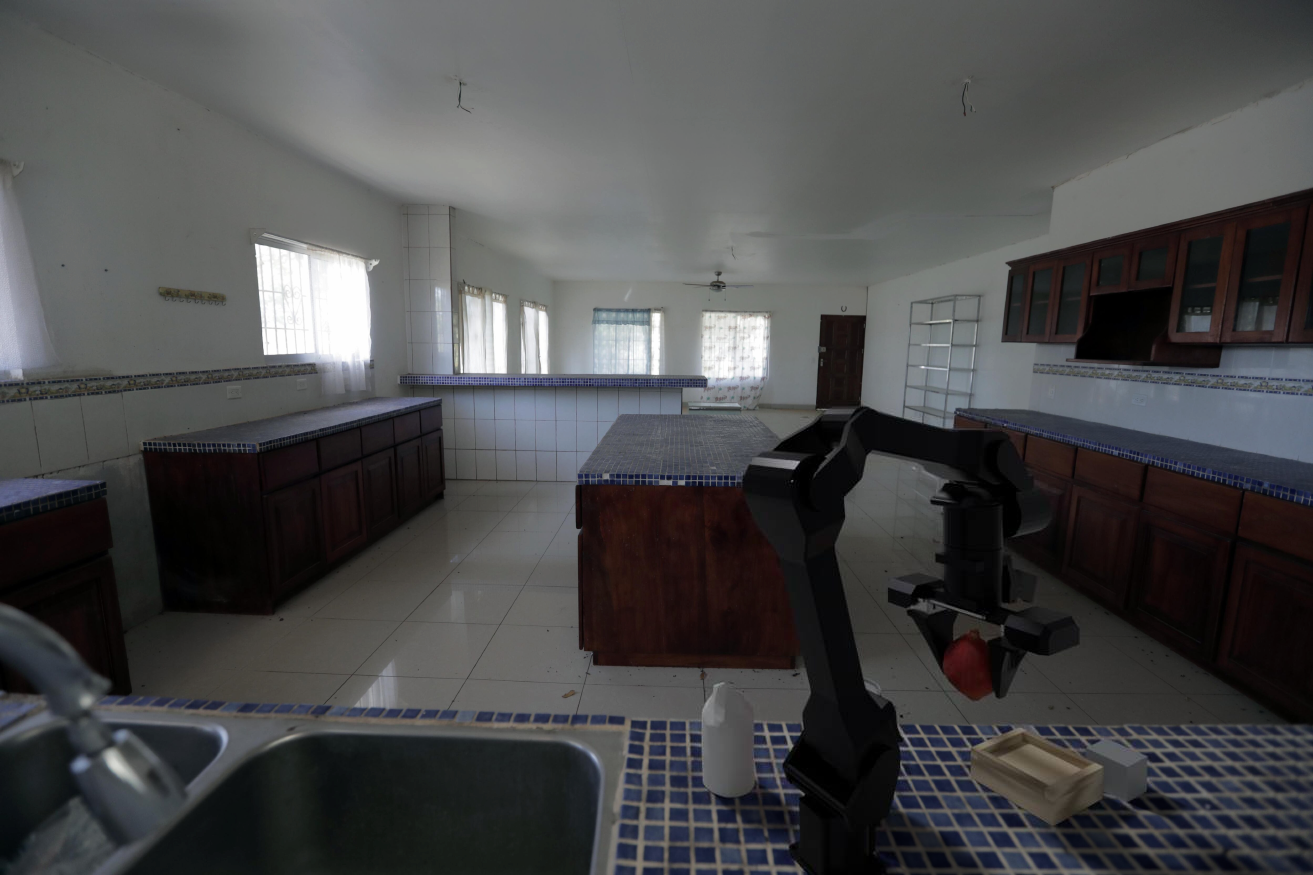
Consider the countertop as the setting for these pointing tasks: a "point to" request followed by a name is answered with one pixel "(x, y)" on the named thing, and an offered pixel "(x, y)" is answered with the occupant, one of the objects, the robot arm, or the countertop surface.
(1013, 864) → the countertop surface
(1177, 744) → the countertop surface
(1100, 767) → the square tray
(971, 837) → the countertop surface
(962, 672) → the red pomegranate
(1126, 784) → the grey cube
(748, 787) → the white plastic bottle
